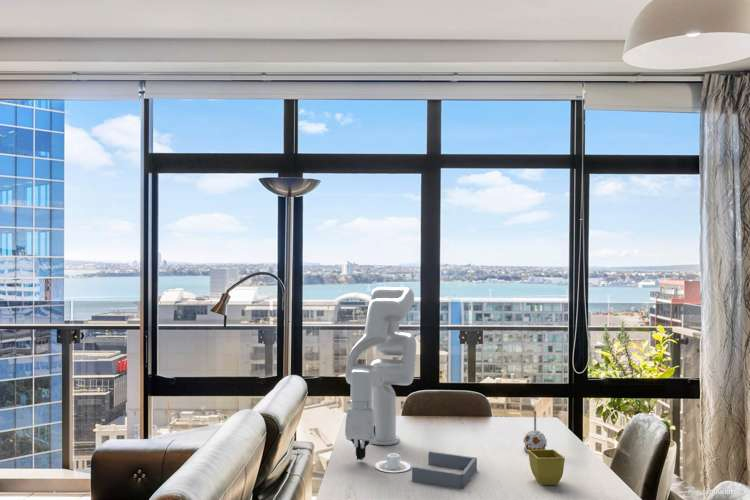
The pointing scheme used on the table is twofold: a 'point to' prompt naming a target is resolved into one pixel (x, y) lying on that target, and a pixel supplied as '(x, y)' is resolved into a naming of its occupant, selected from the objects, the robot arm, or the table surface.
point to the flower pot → (546, 466)
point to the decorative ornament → (534, 439)
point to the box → (442, 476)
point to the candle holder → (393, 463)
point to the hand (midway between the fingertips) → (360, 458)
